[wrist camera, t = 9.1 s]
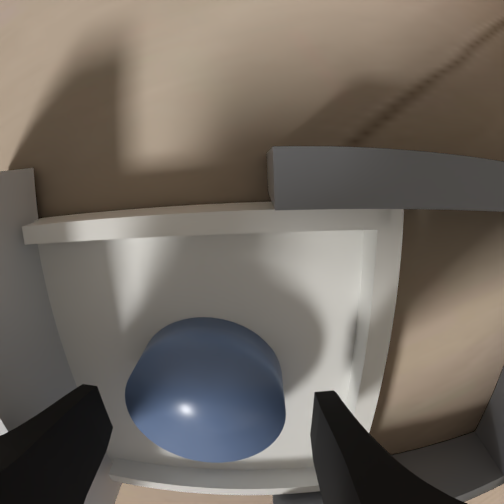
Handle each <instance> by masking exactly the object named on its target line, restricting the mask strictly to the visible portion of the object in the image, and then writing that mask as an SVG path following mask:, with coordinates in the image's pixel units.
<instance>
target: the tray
mask: <svg viewBox="0 0 504 504" xmlns="http://www.w3.org/2000/svg"><path fill="white" fill-rule="evenodd" d="M403 221H404V209H314V210H274V207H273V204H272V202H245V203H222V204H202V205H184V206H169V207H154V208H140V209H128V210H116V211H104V212H93V213H83V214H73V215H64V216H54V217H46V218H40V219H38V211H37V202H36V193H35V181H34V168H26V169H17V170H9V171H1V172H0V436H1V435H3V434H5V433H7V432H9V431H11V430H13V429H15V428H16V427H18V426H20V425H21V424H23V423H25V422H26V421H28V420H29V419H31V418H33V417H34V416H36V415H37V414H39V413H40V412H42V411H43V410H45V409H46V408H48V407H49V406H51V405H52V404H54V403H55V402H56V401H58V400H59V399H61V398H62V397H64V396H65V395H66V394H68V393H69V392H71V391H72V390H74V389H75V388H77V387H79V386H80V385H82V384H87V385H93V386H97V387H98V390H99V392H100V395H101V398H102V401H103V403H104V406H105V408H106V411H107V413H108V416H109V418H110V421H111V423H112V426H113V430H112V433H111V437H110V441H109V444H108V447H107V451H106V453H105V455H104V458H103V460H102V462H101V465H100V467H99V469H98V471H97V474H96V476H95V478H94V480H93V482H92V485H91V487H90V489H89V492H88V494H87V496H86V499H85V502H84V504H115V501H116V498H117V495H118V493H119V490H120V487H121V484H122V483H126V484H132V485H137V486H143V487H149V488H156V489H163V490H171V491H180V492H190V493H202V494H220V495H276V494H294V493H306V492H317V491H320V488H319V484H318V480H317V475H316V471H315V467H314V463H313V456H312V447H311V437H310V432H311V423H312V413H313V403H314V392H320V391H331V390H334V391H335V392H336V393H337V394H338V395H339V397H340V398H341V400H342V401H343V402H344V404H345V405H346V406H347V408H348V409H349V410H350V412H351V413H352V414H353V415H354V417H355V418H356V419H357V420H358V421H359V423H360V424H361V425H362V426H363V427H364V428H365V429H366V430H367V432H368V433H369V432H370V428H371V425H372V421H373V417H374V413H375V409H376V405H377V401H378V397H379V393H380V389H381V384H382V380H383V375H384V370H385V365H386V360H387V355H388V350H389V344H390V338H391V332H392V326H393V320H394V313H395V306H396V298H397V290H398V282H399V273H400V262H401V251H402V238H403ZM195 317H212V318H219V319H224V320H228V321H231V322H234V323H237V324H239V325H242V326H244V327H246V328H248V329H250V330H251V331H253V332H254V333H256V334H257V335H259V336H260V337H261V338H262V339H263V340H264V341H265V342H266V343H267V344H268V345H269V346H270V347H271V348H272V350H273V351H274V353H275V355H276V356H277V358H278V361H279V363H280V367H281V371H282V380H283V389H284V398H285V408H286V419H285V424H284V427H283V430H282V431H281V433H280V435H279V436H278V438H277V439H276V440H275V441H274V442H273V443H272V444H271V445H270V446H269V447H268V448H266V449H265V450H263V451H262V452H260V453H258V454H256V455H254V456H251V457H249V458H246V459H242V460H238V461H233V462H223V463H211V462H201V461H195V460H191V459H187V458H184V457H181V456H178V455H175V454H173V453H171V452H168V451H166V450H165V449H163V448H161V447H159V446H158V445H156V444H155V443H153V442H152V441H151V440H150V439H148V438H147V437H146V436H145V435H144V434H143V433H142V432H141V431H140V430H139V429H138V427H137V426H136V425H135V424H134V422H133V420H132V419H131V417H130V415H129V412H128V410H127V406H126V403H125V388H126V384H127V381H128V379H129V377H130V375H131V373H132V371H133V370H134V368H135V366H136V364H137V362H138V360H139V359H140V357H141V355H142V353H143V351H144V350H145V348H146V346H147V344H148V342H149V341H150V340H151V338H152V337H153V336H154V335H155V334H156V333H157V332H158V331H159V330H161V329H162V328H164V327H165V326H167V325H169V324H171V323H174V322H176V321H180V320H183V319H188V318H195Z"/></svg>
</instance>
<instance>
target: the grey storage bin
mask: <svg viewBox="0 0 504 504" xmlns="http://www.w3.org/2000/svg"><path fill="white" fill-rule="evenodd" d="M267 178H268V193H269V196H270V199H271V201H272V204H273V207H274V210H314V209H436V210H474V211H500V212H504V162H503V161H496V160H490V159H483V158H476V157H469V156H461V155H453V154H444V153H435V152H424V151H413V150H400V149H385V148H365V147H335V146H277V147H272V148H271V149H270V150H269V151H268V152H267ZM391 456H393V457H394V458H395V459H396V460H397V461H398V462H399V463H401V464H402V465H403V466H404V467H406V468H407V469H408V470H410V471H411V472H412V473H414V474H415V475H417V476H418V477H419V478H421V479H422V480H424V481H425V482H427V483H428V484H430V485H432V486H434V487H435V488H437V489H439V490H441V491H442V492H444V493H446V494H448V495H449V496H451V497H454V498H456V499H458V500H460V501H462V502H465V501H468V500H470V499H472V498H474V497H477V496H479V495H481V494H483V493H485V492H488V491H490V490H492V489H494V488H496V487H498V486H500V485H502V484H504V367H503V370H502V372H501V375H500V377H499V380H498V382H497V385H496V387H495V390H494V392H493V394H492V397H491V399H490V401H489V404H488V406H487V408H486V410H485V412H484V414H483V416H482V419H481V421H480V423H479V425H478V427H477V429H476V431H475V432H472V433H469V434H466V435H463V436H460V437H457V438H454V439H451V440H448V441H445V442H441V443H438V444H435V445H431V446H427V447H424V448H420V449H416V450H412V451H408V452H404V453H399V454H395V455H391ZM273 504H323V501H322V496H321V492H320V491H317V492H306V493H294V494H276V495H273Z"/></svg>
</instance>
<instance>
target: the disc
mask: <svg viewBox="0 0 504 504" xmlns="http://www.w3.org/2000/svg"><path fill="white" fill-rule="evenodd" d="M125 403H126V406H127V410H128V412H129V415H130V417H131V419H132V420H133V422H134V424H135V425H136V426H137V427H138V429H139V430H140V431H141V432H142V433H143V434H144V435H145V436H146V437H147V438H148V439H150V440H151V441H152V442H153V443H155V444H156V445H158V446H159V447H161V448H163V449H165V450H166V451H168V452H171V453H173V454H175V455H178V456H181V457H184V458H187V459H191V460H195V461H201V462H211V463H223V462H233V461H238V460H242V459H246V458H249V457H251V456H254V455H256V454H258V453H260V452H262V451H263V450H265V449H266V448H268V447H269V446H270V445H271V444H272V443H273V442H274V441H275V440H276V439H277V438H278V436H279V435H280V433H281V431H282V430H283V427H284V424H285V419H286V408H285V398H284V389H283V380H282V371H281V367H280V363H279V361H278V358H277V356H276V355H275V353H274V351H273V350H272V348H271V347H270V346H269V345H268V344H267V343H266V342H265V341H264V340H263V339H262V338H261V337H260V336H259V335H257V334H256V333H254V332H253V331H251V330H250V329H248V328H246V327H244V326H242V325H239V324H237V323H234V322H231V321H228V320H224V319H219V318H212V317H195V318H188V319H183V320H180V321H176V322H174V323H171V324H169V325H167V326H165V327H164V328H162V329H161V330H159V331H158V332H157V333H156V334H155V335H154V336H153V337H152V338H151V340H150V341H149V342H148V344H147V346H146V348H145V350H144V351H143V353H142V355H141V357H140V359H139V360H138V362H137V364H136V366H135V368H134V370H133V371H132V373H131V375H130V377H129V379H128V381H127V384H126V388H125Z"/></svg>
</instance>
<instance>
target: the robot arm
mask: <svg viewBox="0 0 504 504" xmlns="http://www.w3.org/2000/svg"><path fill="white" fill-rule="evenodd" d="M112 430H113V426H112V423H111V421H110V418H109V416H108V413H107V411H106V408H105V406H104V403H103V401H102V398H101V395H100V392H99V390H98V387H97V386H93V385H87V384H82V385H80V386H79V387H77V388H75V389H74V390H72V391H71V392H69V393H68V394H66V395H65V396H64V397H62V398H61V399H59V400H58V401H56V402H55V403H54V404H52V405H51V406H49V407H48V408H46V409H45V410H43V411H42V412H40V413H39V414H37V415H36V416H34V417H33V418H31V419H29V420H28V421H26V422H25V423H23V424H21V425H20V426H18V427H16V428H15V429H13V430H11V431H9V432H7V433H5V434H3V435H1V436H0V504H84V502H85V499H86V496H87V494H88V492H89V489H90V487H91V485H92V482H93V480H94V478H95V476H96V474H97V471H98V469H99V467H100V465H101V462H102V460H103V458H104V455H105V453H106V451H107V447H108V444H109V441H110V437H111V433H112ZM310 437H311V447H312V456H313V463H314V467H315V471H316V475H317V480H318V484H319V488H320V492H321V496H322V501H323V504H467V503H464V502H462V501H460V500H458V499H456V498H454V497H451V496H449V495H448V494H446V493H444V492H442V491H441V490H439V489H437V488H435V487H434V486H432V485H430V484H428V483H427V482H425V481H424V480H422V479H421V478H419V477H418V476H417V475H415V474H414V473H412V472H411V471H410V470H408V469H407V468H406V467H404V466H403V465H402V464H401V463H399V462H398V461H397V460H396V459H395V458H394V457H393V456H391V455H390V454H389V453H388V452H387V451H386V450H385V449H384V448H383V447H382V446H381V445H380V444H379V443H378V442H377V441H376V440H375V439H374V438H373V437H372V436H371V435H370V434H369V433H368V432H367V430H366V429H365V428H364V427H363V426H362V425H361V424H360V423H359V421H358V420H357V419H356V418H355V417H354V415H353V414H352V413H351V412H350V410H349V409H348V408H347V406H346V405H345V404H344V402H343V401H342V400H341V398H340V397H339V395H338V394H337V393H336V392H335V391H334V390H331V391H320V392H314V403H313V413H312V423H311V432H310Z"/></svg>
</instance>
